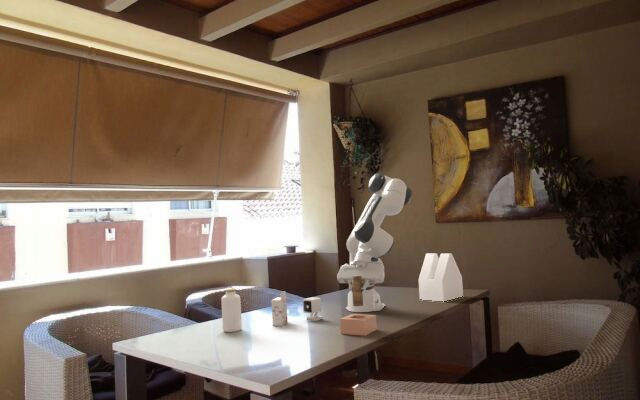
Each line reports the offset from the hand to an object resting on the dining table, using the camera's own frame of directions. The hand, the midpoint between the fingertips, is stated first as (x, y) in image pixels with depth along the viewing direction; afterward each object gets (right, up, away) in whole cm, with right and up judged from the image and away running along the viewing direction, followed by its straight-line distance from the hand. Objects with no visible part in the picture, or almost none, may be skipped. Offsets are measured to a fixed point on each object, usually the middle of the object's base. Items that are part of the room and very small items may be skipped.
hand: (356, 290), depth 201 cm
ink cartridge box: (-33, -20, +24) cm, 46 cm away
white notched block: (+52, -18, +69) cm, 89 cm away
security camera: (-18, -20, +30) cm, 40 cm away
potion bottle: (-54, -21, +15) cm, 60 cm away
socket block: (+1, -17, 0) cm, 17 cm away
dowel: (+1, -6, 0) cm, 6 cm away
